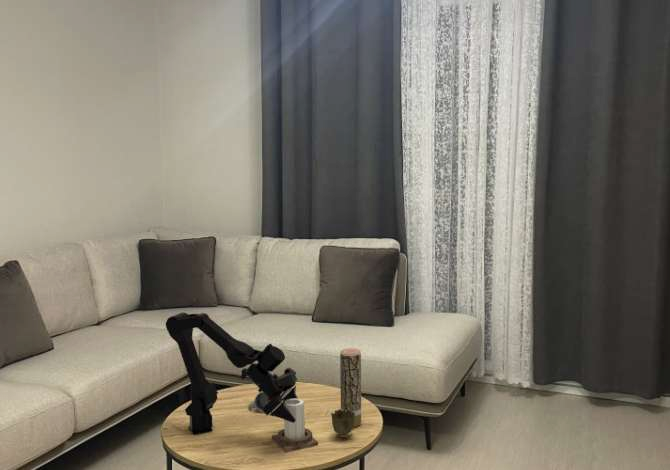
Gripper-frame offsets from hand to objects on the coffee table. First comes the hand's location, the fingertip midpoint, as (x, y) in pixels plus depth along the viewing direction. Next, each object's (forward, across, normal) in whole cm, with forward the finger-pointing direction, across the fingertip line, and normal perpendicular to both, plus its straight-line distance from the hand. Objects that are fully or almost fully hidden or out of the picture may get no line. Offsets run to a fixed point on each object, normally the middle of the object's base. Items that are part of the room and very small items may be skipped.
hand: (298, 415), depth 211 cm
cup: (+15, +6, -3) cm, 17 cm away
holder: (+5, 0, +7) cm, 9 cm away
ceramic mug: (-8, +24, +20) cm, 33 cm away
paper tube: (+16, +17, -3) cm, 23 cm away
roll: (+4, 0, +6) cm, 8 cm away
